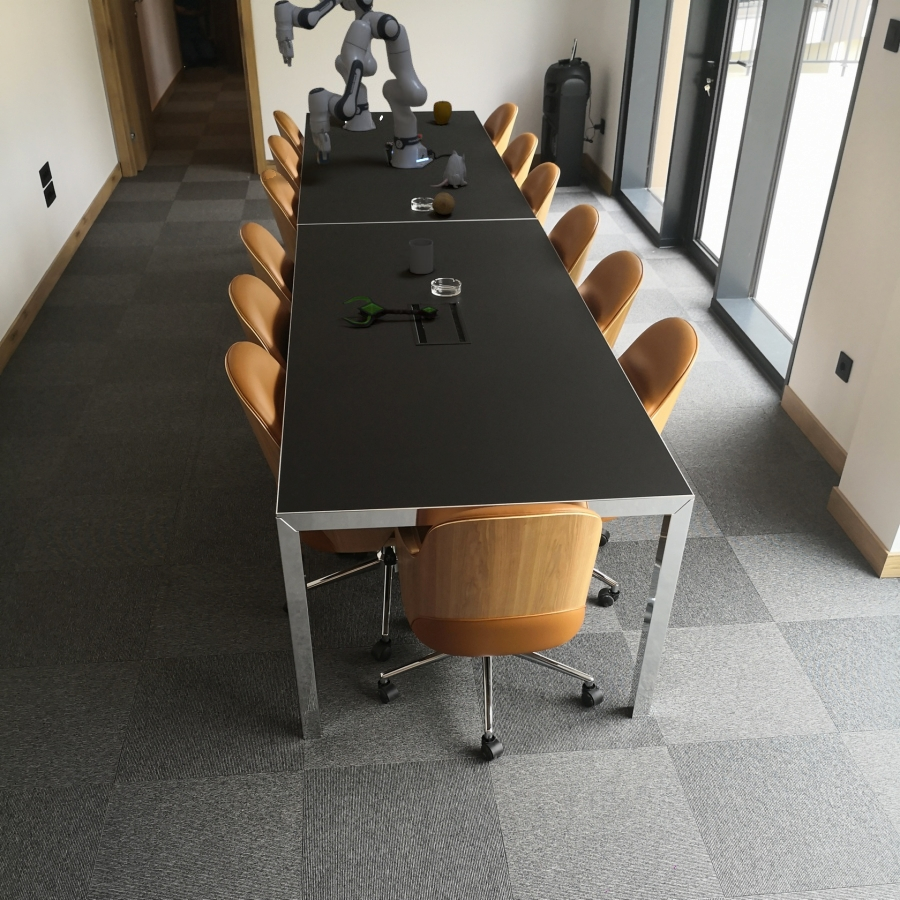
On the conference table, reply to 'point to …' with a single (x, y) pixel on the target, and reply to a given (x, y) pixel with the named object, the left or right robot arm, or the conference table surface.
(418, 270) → the cup
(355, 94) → the right robot arm
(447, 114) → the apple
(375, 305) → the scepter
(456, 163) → the toy
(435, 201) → the potato
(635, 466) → the conference table surface
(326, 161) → the block
